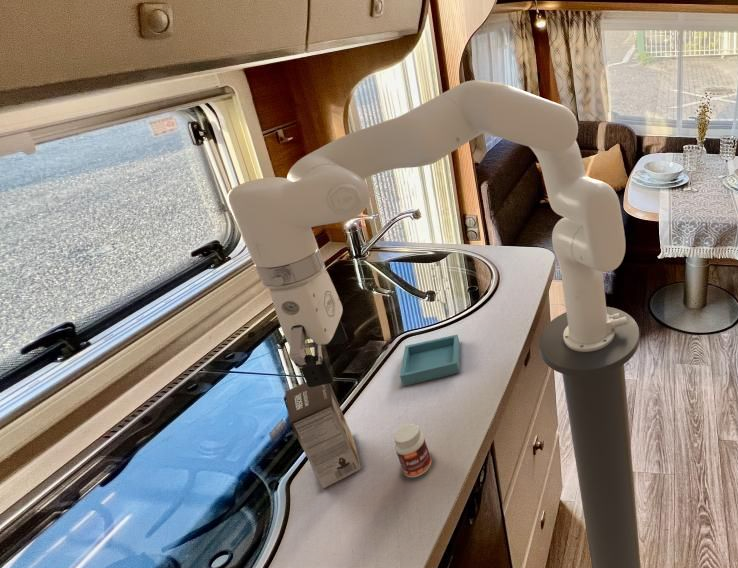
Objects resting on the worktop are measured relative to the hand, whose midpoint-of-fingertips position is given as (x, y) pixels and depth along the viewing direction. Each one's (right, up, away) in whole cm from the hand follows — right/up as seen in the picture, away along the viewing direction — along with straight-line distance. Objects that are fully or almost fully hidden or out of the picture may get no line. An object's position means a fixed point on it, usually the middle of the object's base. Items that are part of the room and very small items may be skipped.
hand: (329, 362), depth 77 cm
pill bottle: (+8, -22, +12) cm, 27 cm away
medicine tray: (+1, -10, +36) cm, 38 cm away
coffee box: (-7, -22, +14) cm, 27 cm away
